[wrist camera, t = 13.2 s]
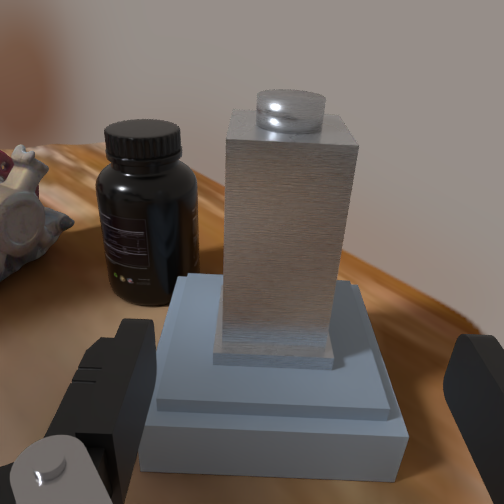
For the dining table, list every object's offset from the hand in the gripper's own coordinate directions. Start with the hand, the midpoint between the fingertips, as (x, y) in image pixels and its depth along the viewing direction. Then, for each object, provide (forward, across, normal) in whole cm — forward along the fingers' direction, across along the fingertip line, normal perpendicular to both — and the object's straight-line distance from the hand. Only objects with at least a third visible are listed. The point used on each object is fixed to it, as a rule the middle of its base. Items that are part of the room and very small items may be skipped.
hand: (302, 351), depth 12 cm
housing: (+10, 0, +8) cm, 13 cm away
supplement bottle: (+20, +9, +12) cm, 25 cm away
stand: (+10, 0, +12) cm, 15 cm away
